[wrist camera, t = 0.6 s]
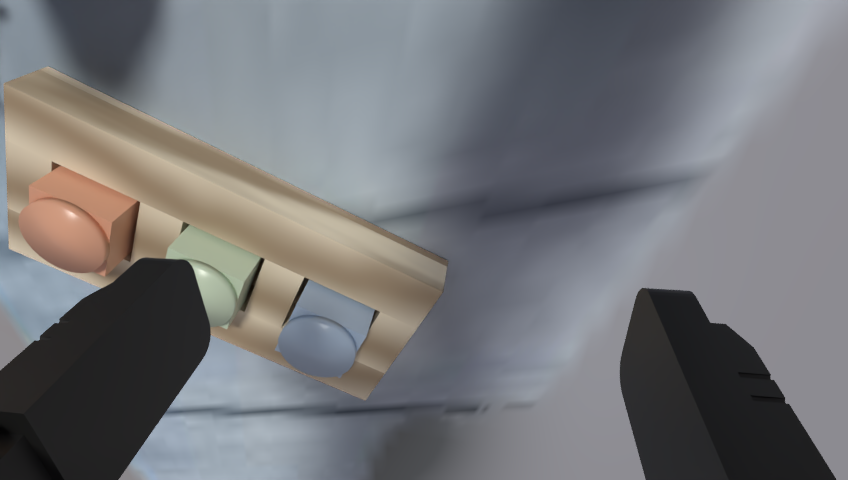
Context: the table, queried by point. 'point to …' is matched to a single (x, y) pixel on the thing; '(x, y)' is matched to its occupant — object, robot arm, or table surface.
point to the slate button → (324, 332)
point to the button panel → (219, 218)
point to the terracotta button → (78, 222)
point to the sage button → (217, 272)
